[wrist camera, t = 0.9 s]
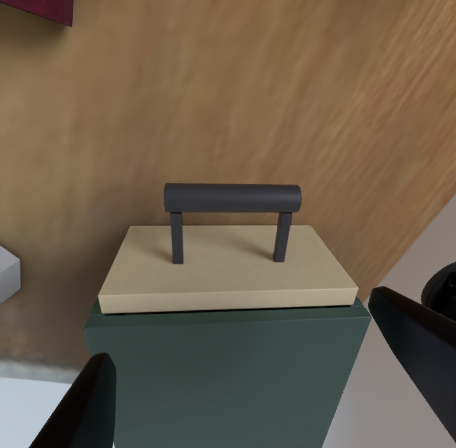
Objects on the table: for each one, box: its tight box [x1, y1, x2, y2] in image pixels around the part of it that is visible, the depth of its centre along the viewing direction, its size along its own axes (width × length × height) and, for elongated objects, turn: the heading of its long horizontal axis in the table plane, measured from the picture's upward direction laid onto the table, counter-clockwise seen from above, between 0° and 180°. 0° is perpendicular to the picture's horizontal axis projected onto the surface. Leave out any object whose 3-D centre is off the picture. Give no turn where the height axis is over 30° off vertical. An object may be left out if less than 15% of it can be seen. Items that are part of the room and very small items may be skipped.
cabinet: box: [83, 296, 372, 448], centre depth 21 cm, size 16×15×9 cm
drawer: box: [98, 183, 358, 315], centre depth 20 cm, size 19×13×7 cm
